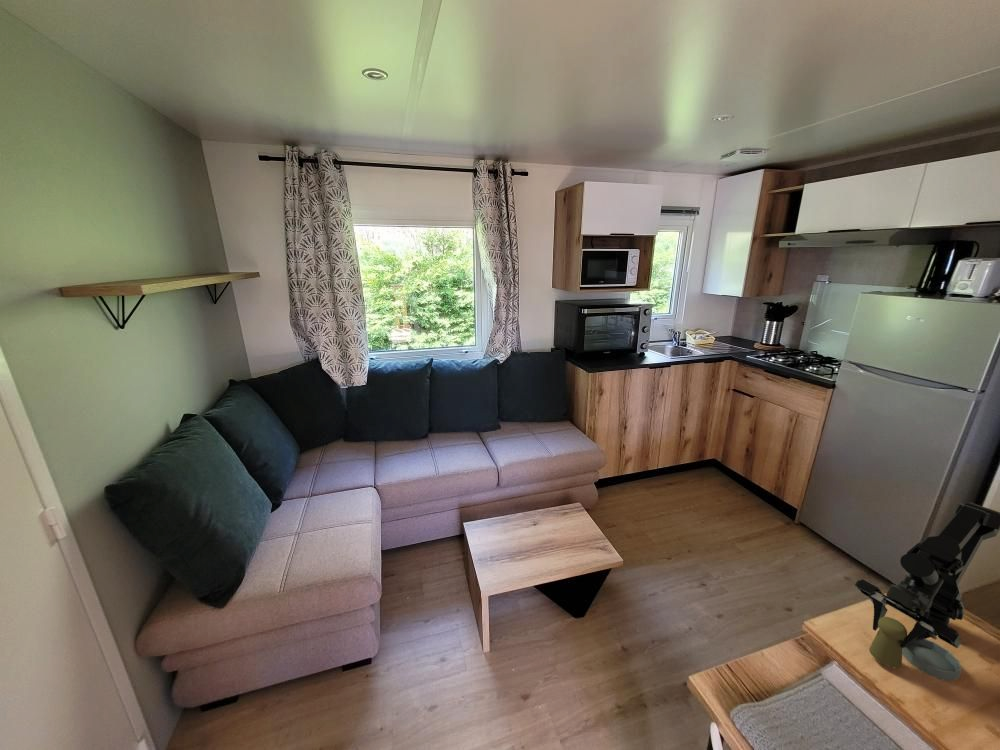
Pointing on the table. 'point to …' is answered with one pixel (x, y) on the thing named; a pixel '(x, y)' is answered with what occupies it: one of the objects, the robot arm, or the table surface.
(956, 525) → the robot arm
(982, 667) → the table surface
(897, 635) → the cork
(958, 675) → the gray bowl
